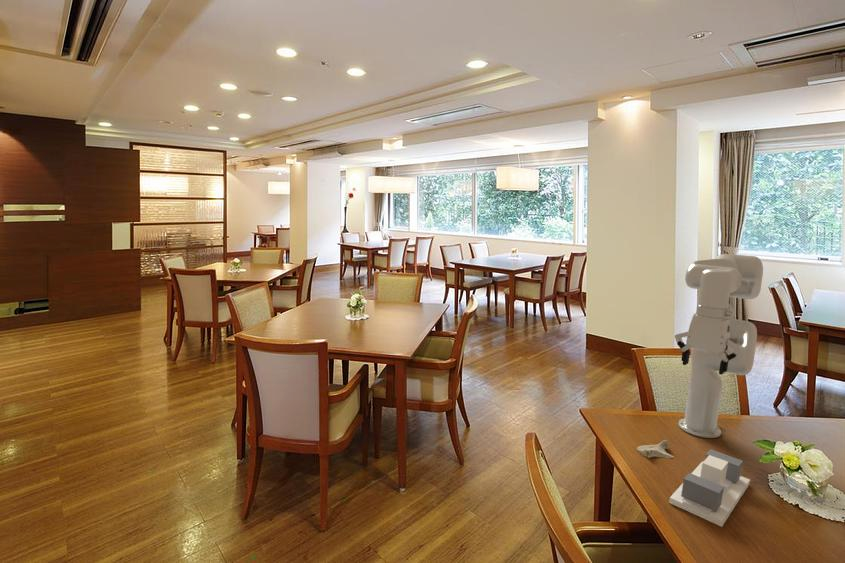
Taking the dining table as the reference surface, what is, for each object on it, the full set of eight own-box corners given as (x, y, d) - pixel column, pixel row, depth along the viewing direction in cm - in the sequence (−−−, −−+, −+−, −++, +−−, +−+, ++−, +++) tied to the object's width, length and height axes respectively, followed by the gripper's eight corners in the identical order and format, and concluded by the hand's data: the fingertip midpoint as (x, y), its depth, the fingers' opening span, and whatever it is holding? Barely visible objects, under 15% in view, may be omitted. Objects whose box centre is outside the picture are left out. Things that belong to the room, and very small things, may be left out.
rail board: (701, 466, 141) (704, 444, 140) (749, 484, 132) (753, 461, 131) (669, 502, 123) (672, 478, 122) (721, 526, 115) (726, 500, 113)
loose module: (705, 478, 131) (709, 454, 130) (724, 485, 128) (728, 461, 127) (698, 487, 127) (702, 462, 126) (718, 495, 124) (721, 470, 122)
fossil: (679, 459, 145) (681, 448, 144) (646, 460, 143) (648, 450, 143) (665, 447, 152) (666, 437, 151) (633, 448, 150) (635, 438, 150)
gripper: (750, 316, 134) (740, 374, 137) (683, 304, 146) (676, 358, 149) (743, 320, 129) (733, 380, 132) (674, 308, 141) (667, 363, 144)
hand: (703, 368), depth 141 cm, fingers open, 9 cm apart
